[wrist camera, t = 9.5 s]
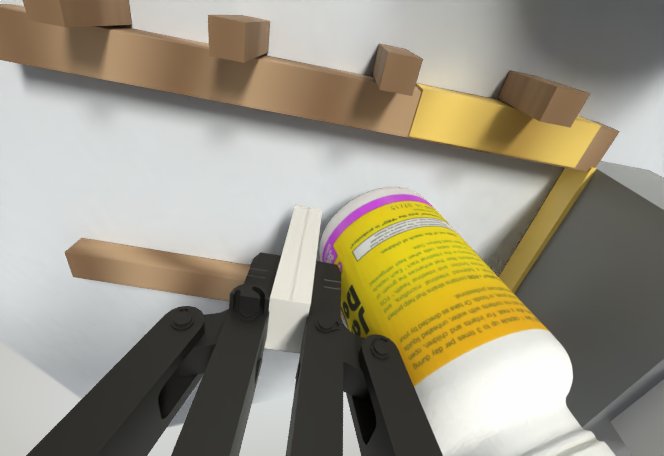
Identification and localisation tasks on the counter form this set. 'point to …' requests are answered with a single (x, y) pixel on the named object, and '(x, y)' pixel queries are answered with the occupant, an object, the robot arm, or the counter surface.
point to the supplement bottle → (454, 330)
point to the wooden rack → (283, 108)
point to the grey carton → (602, 298)
